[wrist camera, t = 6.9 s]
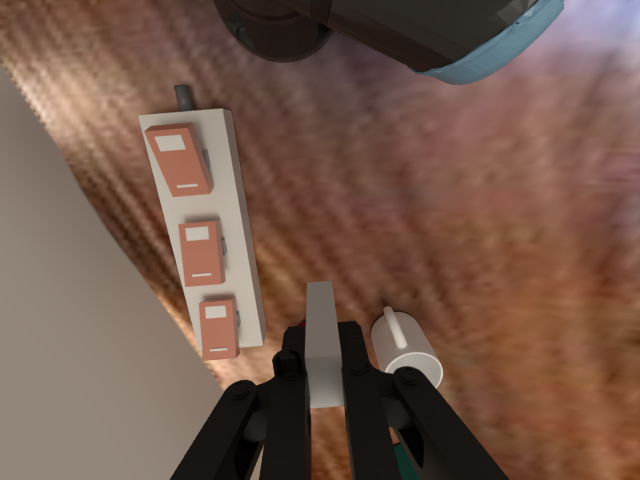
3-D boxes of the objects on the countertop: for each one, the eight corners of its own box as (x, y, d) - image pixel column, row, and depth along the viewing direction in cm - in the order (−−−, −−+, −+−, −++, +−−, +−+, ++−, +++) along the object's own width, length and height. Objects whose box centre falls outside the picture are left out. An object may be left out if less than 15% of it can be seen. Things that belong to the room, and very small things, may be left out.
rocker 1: (150, 125, 33) (143, 132, 31) (192, 122, 33) (187, 128, 31) (177, 189, 38) (172, 197, 36) (213, 186, 38) (210, 194, 36)
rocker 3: (203, 300, 43) (198, 303, 41) (235, 297, 43) (231, 300, 41) (207, 355, 43) (202, 361, 41) (239, 353, 43) (235, 358, 41)
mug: (357, 300, 49) (368, 341, 39) (405, 284, 48) (429, 322, 39) (377, 356, 53) (392, 406, 43) (423, 342, 52) (448, 389, 42)
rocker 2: (184, 223, 39) (177, 223, 37) (219, 220, 39) (214, 220, 37) (191, 284, 40) (184, 287, 38) (225, 281, 40) (221, 284, 38)
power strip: (147, 91, 38) (123, 85, 33) (226, 85, 38) (214, 78, 33) (206, 334, 50) (195, 356, 46) (266, 329, 50) (261, 350, 45)
